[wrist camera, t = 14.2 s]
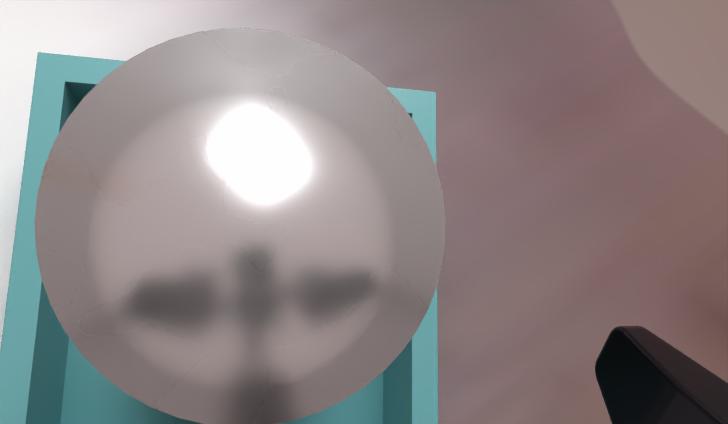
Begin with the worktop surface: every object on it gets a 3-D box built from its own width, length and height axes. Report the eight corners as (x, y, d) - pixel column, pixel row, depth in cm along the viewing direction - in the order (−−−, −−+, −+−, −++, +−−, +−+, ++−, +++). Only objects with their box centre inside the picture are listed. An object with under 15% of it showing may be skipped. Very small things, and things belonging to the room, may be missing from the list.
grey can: (350, 223, 22) (488, 114, 10) (292, 391, 21) (379, 479, 9) (185, 161, 21) (138, -33, 10) (112, 333, 20) (-47, 348, 8)
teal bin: (37, 460, 19) (-19, 499, 15) (76, 106, 22) (37, 52, 17) (397, 450, 22) (438, 482, 18) (399, 133, 24) (435, 92, 20)
